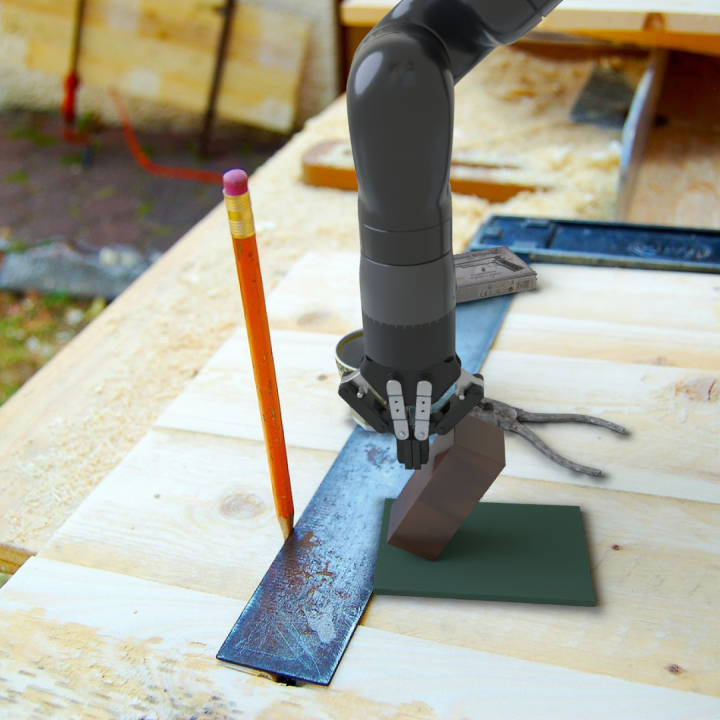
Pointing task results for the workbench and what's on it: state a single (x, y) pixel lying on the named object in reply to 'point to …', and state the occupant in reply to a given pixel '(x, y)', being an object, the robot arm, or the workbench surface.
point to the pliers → (511, 415)
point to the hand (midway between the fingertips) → (414, 463)
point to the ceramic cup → (353, 365)
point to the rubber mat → (496, 558)
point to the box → (491, 274)
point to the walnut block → (446, 487)
